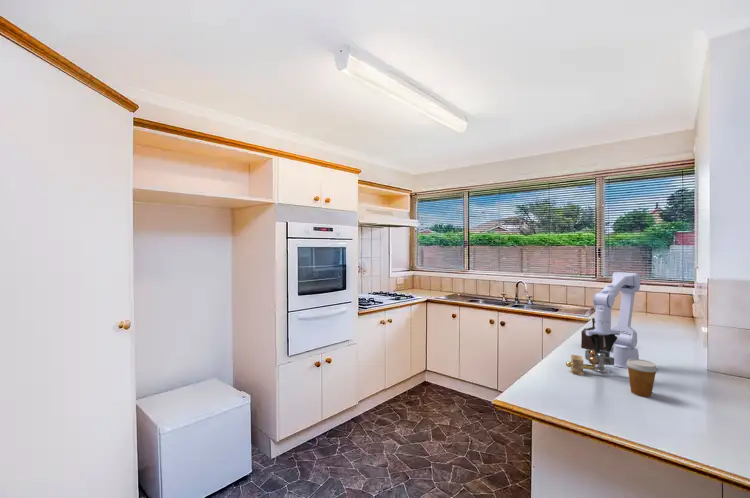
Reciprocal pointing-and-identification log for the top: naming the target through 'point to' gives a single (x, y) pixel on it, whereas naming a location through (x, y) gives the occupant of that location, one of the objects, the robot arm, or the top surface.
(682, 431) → the top surface
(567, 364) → the brass bar with knob
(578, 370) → the block
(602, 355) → the locking wheel
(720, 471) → the top surface
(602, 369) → the axle post
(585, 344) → the coffee grinder
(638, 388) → the disposable coffee cup
